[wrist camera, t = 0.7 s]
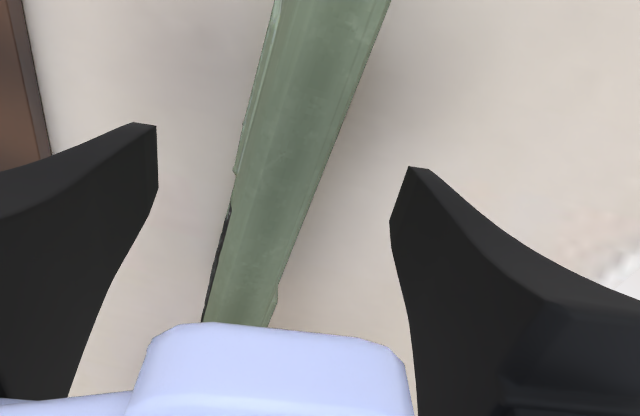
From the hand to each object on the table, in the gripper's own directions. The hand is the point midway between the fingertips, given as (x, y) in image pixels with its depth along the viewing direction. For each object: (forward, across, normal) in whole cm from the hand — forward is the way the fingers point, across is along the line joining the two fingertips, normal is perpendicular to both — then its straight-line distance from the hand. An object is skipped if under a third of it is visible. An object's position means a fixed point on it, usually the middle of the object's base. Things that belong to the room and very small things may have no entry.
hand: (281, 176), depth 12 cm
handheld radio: (+8, 0, 0) cm, 8 cm away
